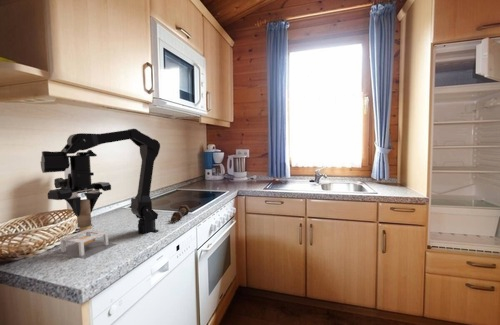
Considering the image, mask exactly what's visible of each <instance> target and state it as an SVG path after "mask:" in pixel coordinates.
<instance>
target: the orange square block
mask: <svg viewBox="0 0 500 325" xmlns="http://www.w3.org/2000/svg"><path fill="white" fill-rule="evenodd" d="M87 237H90V236H86V235H85V236H82V237H79V238H78V239H85V238H87ZM93 241H96V238H94V239H91V240H89V241H86V242H84V245H86V244H88V243H91V242H93ZM76 244H79V243H76Z"/></svg>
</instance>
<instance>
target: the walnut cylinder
mask: <svg viewBox="0 0 500 325" xmlns="http://www.w3.org/2000/svg"><path fill="white" fill-rule="evenodd" d="M91 214H92V212H91V210H90V199H87V198H84V199H83V198H82V199H81V201H80V214H79V216H76V221H77V228H79V229H80V228H84V227H88V226H91V227H92V215H91Z"/></svg>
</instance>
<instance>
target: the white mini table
mask: <svg viewBox="0 0 500 325" xmlns="http://www.w3.org/2000/svg"><path fill="white" fill-rule="evenodd" d="M83 234H85V236H90V237H87V238H85V239H79V238H76V237H78V236H81V235H83ZM92 234H93V235H92ZM102 236H103V241H100V240H95V241H93V242H91V243H88V244H86V245H84V242H86V241H89V240H91V239H96V238H99V237H102ZM59 242H60V248H58V249H57V250H56V249H55V250H53V251H52V253H55V254H61V255H64V256H70V257H74V258H78V259H79V258H80V259H84V260H86V259H88V258H91V257H92V256H95V255H97V254H98V253H101V252H103V251H105V250H108V249H110V248H112V247H114V246H117V245H118V243H117V244H116V243H111V242H109V232H108V231H103V230H98V229H92V228H91V229H87V230H84V231H81V232H80V231H78V232H76V233H73V234H70V235H67V236H64V237H61V238H60V239H59ZM67 242H71V243H72V244H70V245H67V246H66V243H67ZM76 243H79V244H76Z"/></svg>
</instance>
